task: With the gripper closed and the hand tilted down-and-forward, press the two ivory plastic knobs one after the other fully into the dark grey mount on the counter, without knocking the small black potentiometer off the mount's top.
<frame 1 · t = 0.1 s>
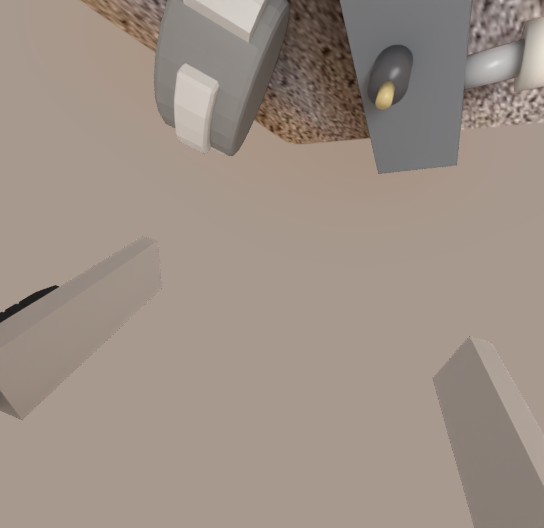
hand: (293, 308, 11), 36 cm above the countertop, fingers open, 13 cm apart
grey rounded slab: (259, 14, 33), on the countertop
knob b: (501, 63, 24), point 7 cm above the countertop, slide at 0.0 cm
potentiometer: (392, 65, 22), point 13 cm above the countertop, touching mount
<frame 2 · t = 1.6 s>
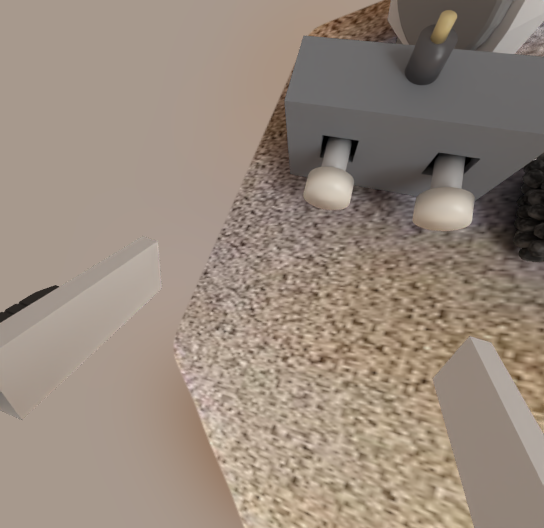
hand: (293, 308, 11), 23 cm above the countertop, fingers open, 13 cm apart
grey rounded slab: (427, 64, 40), on the countertop
knob a: (445, 189, 28), point 7 cm above the countertop, slide at 0.0 cm
knob b: (333, 170, 30), point 7 cm above the countertop, slide at 0.0 cm
potentiometer: (421, 72, 24), point 13 cm above the countertop, touching mount
mount: (379, 163, 37), on the countertop
fruit: (534, 217, 33), on the countertop
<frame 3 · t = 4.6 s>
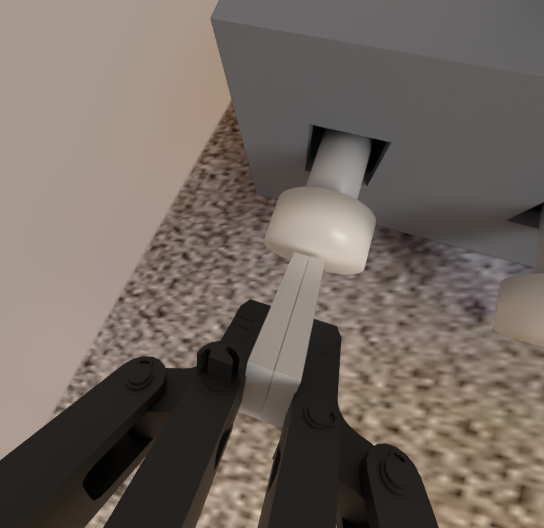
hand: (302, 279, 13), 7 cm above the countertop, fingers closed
knob b: (331, 193, 14), point 7 cm above the countertop, slide at 0.5 cm, touching gripper
mount: (410, 187, 21), on the countertop
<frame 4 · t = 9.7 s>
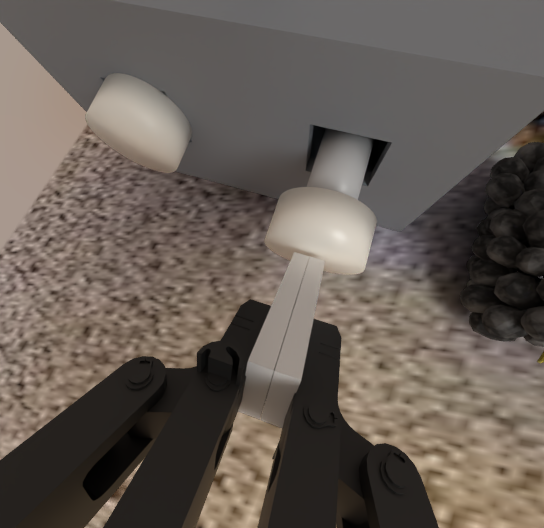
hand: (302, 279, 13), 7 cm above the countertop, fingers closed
knob a: (331, 193, 14), point 7 cm above the countertop, slide at 0.5 cm, touching gripper
knob b: (159, 96, 16), point 7 cm above the countertop, slide at 4.0 cm, touching mount
mount: (271, 153, 23), on the countertop
fruit: (504, 256, 20), on the countertop
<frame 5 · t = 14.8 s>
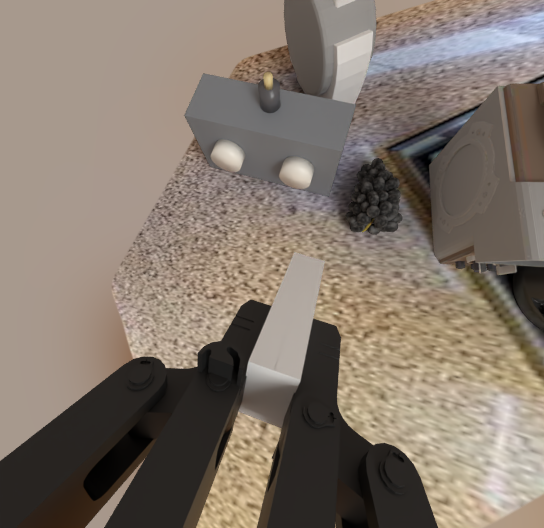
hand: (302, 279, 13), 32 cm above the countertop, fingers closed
grey rounded slab: (318, 94, 54), on the countertop
knob a: (301, 160, 43), point 7 cm above the countertop, slide at 4.0 cm, touching mount
knob b: (233, 144, 44), point 7 cm above the countertop, slide at 4.0 cm, touching mount
potentiometer: (270, 104, 39), point 13 cm above the countertop, touching mount
mount: (273, 163, 51), on the countertop
portable television: (465, 221, 46), on the countertop
fruit: (370, 205, 48), on the countertop
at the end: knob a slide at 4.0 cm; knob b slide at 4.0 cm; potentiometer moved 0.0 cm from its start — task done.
